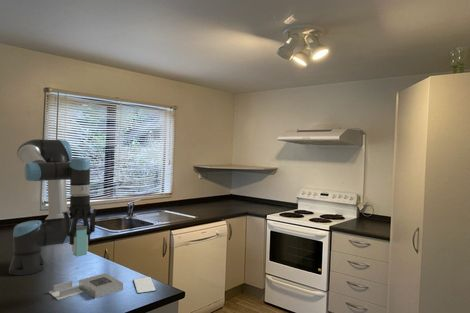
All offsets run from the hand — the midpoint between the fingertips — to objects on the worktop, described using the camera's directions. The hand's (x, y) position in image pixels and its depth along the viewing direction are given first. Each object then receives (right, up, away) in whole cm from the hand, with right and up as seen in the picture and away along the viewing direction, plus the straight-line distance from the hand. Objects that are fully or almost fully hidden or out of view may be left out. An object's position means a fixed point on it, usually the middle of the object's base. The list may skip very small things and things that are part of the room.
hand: (80, 250), depth 143 cm
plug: (0, -2, 0) cm, 2 cm away
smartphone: (+25, -18, +8) cm, 32 cm away
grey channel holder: (-5, -17, -1) cm, 18 cm away
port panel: (+7, -17, +4) cm, 19 cm away
